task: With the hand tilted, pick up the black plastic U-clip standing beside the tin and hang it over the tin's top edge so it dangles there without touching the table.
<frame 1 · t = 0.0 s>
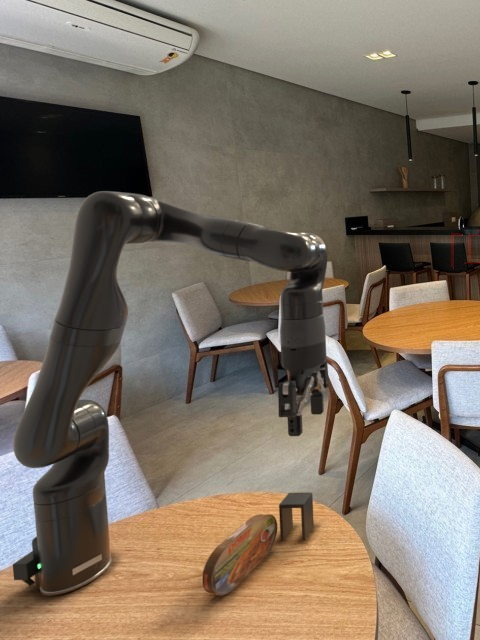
hand: (307, 423, 78), 29 cm above the table, tool pointing down, fingers open, 8 cm apart
clip: (297, 533, 89), on the table
tin: (243, 572, 79), on the table
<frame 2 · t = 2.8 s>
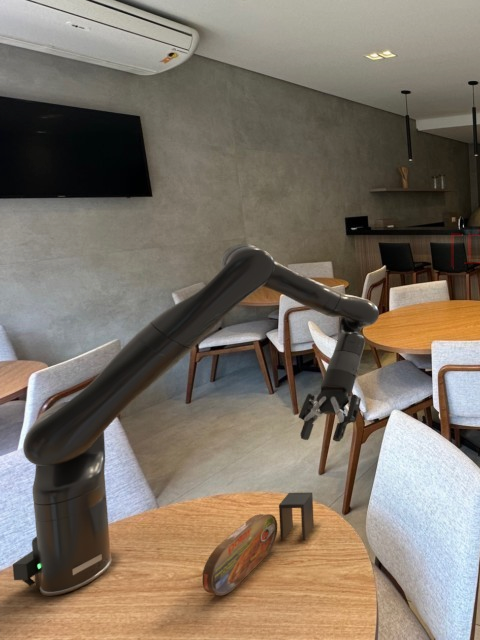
hand: (320, 440, 97), 17 cm above the table, tool tilted 40°, fingers open, 8 cm apart
nothing on the table moved.
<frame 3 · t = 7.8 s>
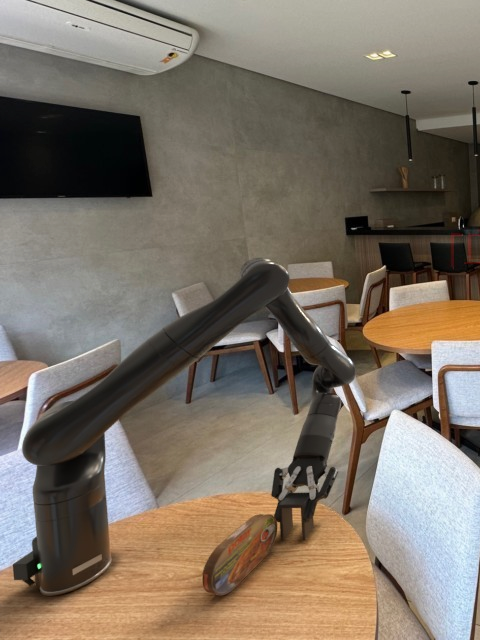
hand: (292, 521, 87), 4 cm above the table, tool tilted 45°, fingers closed on clip, 5 cm apart
clip: (297, 533, 89), on the table, touching gripper
everything else where it was.
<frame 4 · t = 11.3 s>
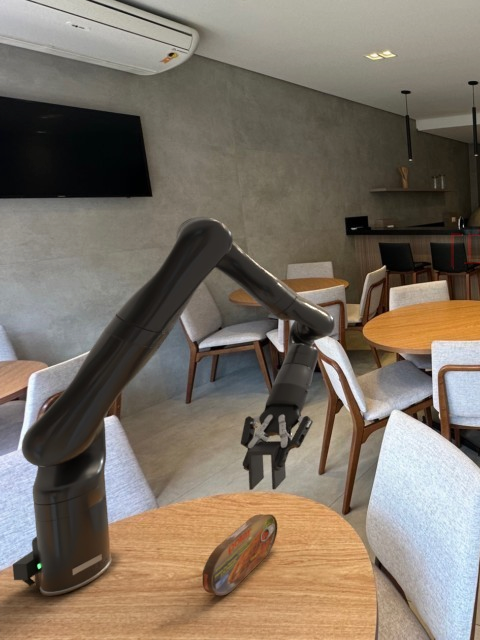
hand: (261, 469, 83), 18 cm above the table, tool tilted 45°, fingers closed on clip, 5 cm apart
clip: (268, 483, 85), point 14 cm above the table, touching gripper
everything else where it was.
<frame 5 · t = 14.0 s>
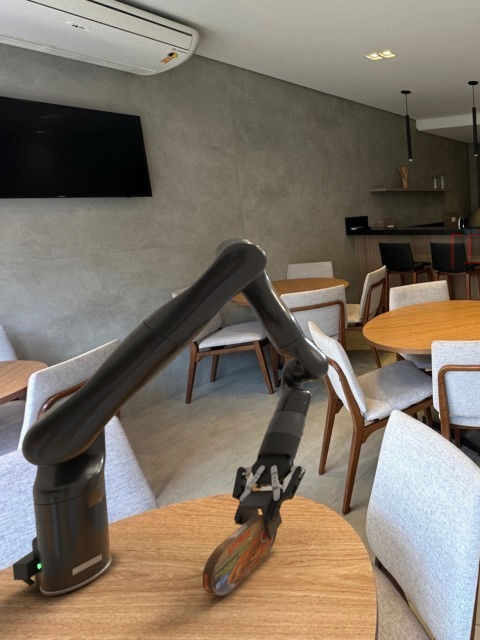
hand: (254, 523, 82), 7 cm above the table, tool tilted 45°, fingers closed on clip, 5 cm apart
clip: (264, 530, 85), point 4 cm above the table, tilted 10°, touching gripper
everything else where it was.
when the fingers open (6 cm above the table, at t = 15.0 s): clip drops 1 cm, resting on tin.
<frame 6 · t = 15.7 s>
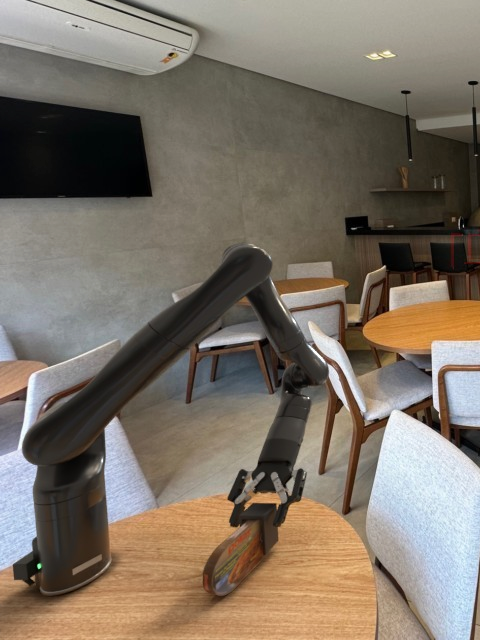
hand: (255, 526, 82), 6 cm above the table, tool tilted 45°, fingers open, 8 cm apart
clip: (260, 547, 84), point 1 cm above the table, touching tin
tin: (243, 573, 79), on the table, touching clip
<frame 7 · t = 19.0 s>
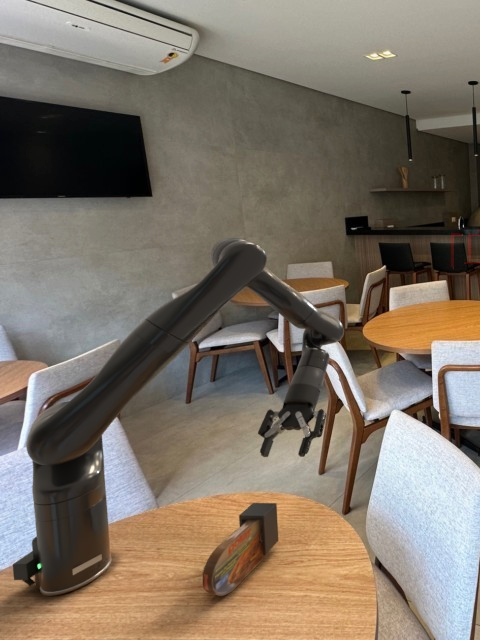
hand: (282, 456, 95), 14 cm above the table, tool tilted 45°, fingers open, 8 cm apart
nothing on the table moved.
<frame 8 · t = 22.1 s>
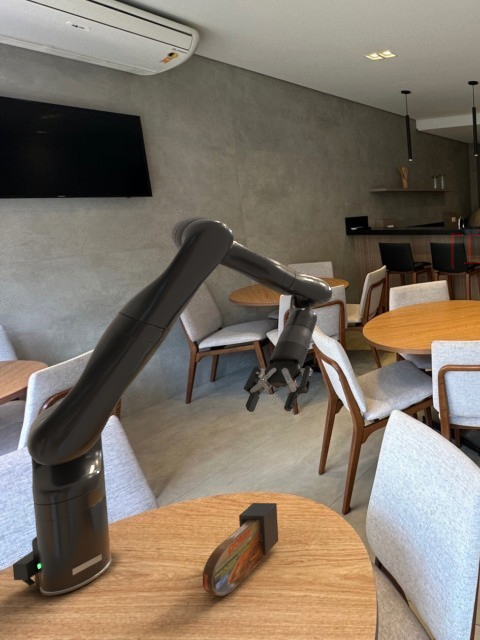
hand: (268, 410, 94), 25 cm above the table, tool tilted 45°, fingers open, 8 cm apart
nothing on the table moved.
at the end: clip inside the target area in the tin (4.6 cm from its centre), point 1.4 cm above the tin's base; clip touching tin; tin tilted 0° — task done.
